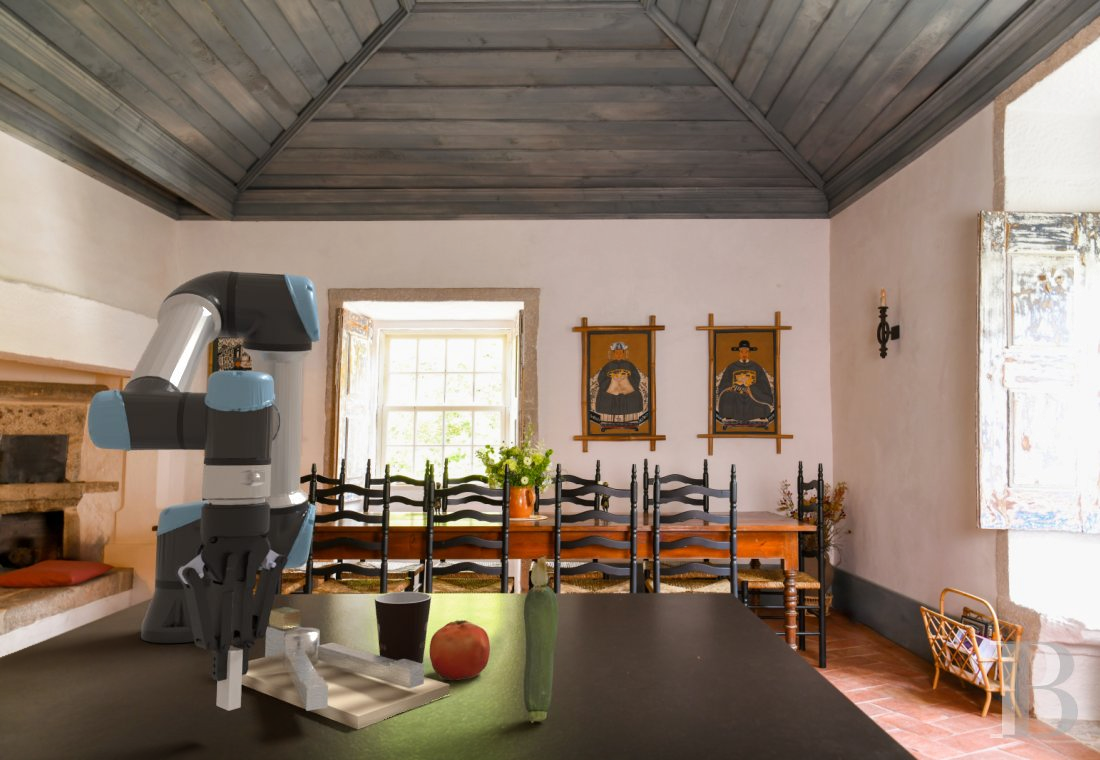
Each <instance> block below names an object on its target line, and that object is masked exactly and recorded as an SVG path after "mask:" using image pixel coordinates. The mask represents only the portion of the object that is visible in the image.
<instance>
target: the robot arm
mask: <svg viewBox="0 0 1100 760" xmlns="http://www.w3.org/2000/svg"><path fill="white" fill-rule="evenodd" d="M320 329H321V328H320V317H319V309H318V301H317V293H316V287H315V283H314V282H313V281H312V280H311V279H310V278H308V277H306V276H300V275H294V274H288V273H284V274H281V273H280V274H279V273H278V274H277V273H265V272H264V273H263V272H262V273H261V272H259V273H258V272H246V271H245V272H243V271H242V272H241V271H232V270H227V271H226V270H221V271H220V270H219V271H212V272H208V273H204V274H202V275H201V274H200V275H199V276H196V277H193V278H191V279H190V280H188V281H185V282H183V283H182V284H181V285H179V286H178V287H175V288H174V289H173V290H172V292H170V293H169V294H168V295H167V296H166V297H165V299H164V300H163V301H162V303H161V304H160V307H159V308H158V312H157V327H156V329H155V331H154V333H153V335H152V336H151V339H150V341H148V344H147V346H146V347H145V350H144V352H143V353H142V355H141V357H140V359H139V361H138V362H137V364H136V366H135V368H134V370H133V372H132V374H131V376H130V378H129V379H128V381H127V383H126V385H125V386H124V388H123V390H120V389H117V388H115V389H112V390H102V391H101V390H100V391H99V392H96V393H95V394H94V396H93V397H92V399H91V402H90V403H89V408H88V413H87V414H88V415H87V429H88V430H87V431H88V435H89V438H90V440H91V443H92V444H93V445H94V446H95V447H96V448H98V449H103V450H122V451H126V452H131V451H158V450H159V451H160V450H161V451H163V450H165V451H169V450H170V451H171V450H173V451H174V450H175V451H176V450H180V451H183V450H184V451H186V450H187V451H191V450H192V451H193V450H194V451H195V450H196V451H197V450H198V451H204V457H203V469H202V483H201V485H202V486H201V487H202V488H201V490H202V491H201V498H202V499H203V500H199V501H192V502H186V503H185V502H184V503H180V504H179V503H178V504H175V505H170V506H168V507H167V506H166V507H165V508H164V509H162V511H160V513H159V514H158V515H159V516H158V524H157V531H156V533H155V536H156V551H155V552H156V554H155V575H154V578H155V579H154V590H153V591H154V592H153V594H152V597H151V600H150V602H149V605H148V607H147V610H146V612H145V615H144V618H143V620H142V623H141V628H140V631H141V633H140V639H142V640H143V641H146V642H150V643H156V644H181V643H183V644H184V643H193V642H194V645H195V646H196V647H198V648H202V649H203V650H204V649H205V650H207V651H211V663H210V664H211V666H210V676H211V678H212V680H214V681H216V682H217V684H216V705H215V706H217V707H219V708H221V709H224V710H226V711H233V710H236V709H239V708H241V707H242V706H241V704H242V700H241V699H242V675H245V674H247V671H248V662H249V661H250V660H249V657H250V650H251V649H253V648H254V646H255V644H256V641H257V640H261V639H264V637H266V630H267V626H269V618H270V613H271V610H272V609H273V604H274V602H275V601H274V600H275V597H276V596H275V595H276V592H277V587H278V584H279V579H280V575H281V574H282V572H283V570H287V569H298V568H302V567H303V566H304V565H306V563H307V561H308V560H309V554H310V549H311V543H312V536H313V531H314V524H315V519H316V511H317V505H316V504H315V505H314V504H312V503H309V494H308V493H307V492H306V491H304V490H303V489H302V487H301V465H302V464H301V461H302V460H301V457H302V456H301V455H302V453H301V452H302V409H303V408H302V406H303V405H302V404H303V403H302V402H303V362H304V360H305V358H306V357H307V356H308V355H309V354H311V352H312V349H313V344H312V343H316V342H317V343H318V342H319V341H320V340H321V330H320ZM217 338H231V339H242V350H243V351H244V352H245V353H246V354H247V355H248V356H249V357H250V359H251V370H219V371H214V372H212V373H211V374H210V375H209V377H208V379H207V386H206V392H194V391H193V392H191V391H190V389H191V387H192V384H193V382H194V379H195V377H196V374H197V372H198V369H199V367H200V364H201V362H202V359H203V356H204V355H205V352H206V349H207V347H208V345H209V344H211V343H213V342H214V341H215V340H216V339H217ZM259 571H260V573H259V577H258V578H257V572H259ZM257 579H258V580H257ZM255 587H256V588H255ZM254 589H255V592H254ZM231 644H232V645H231Z"/></svg>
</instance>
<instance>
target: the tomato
mask: <svg viewBox="0 0 1100 760" xmlns="http://www.w3.org/2000/svg"><path fill="white" fill-rule="evenodd" d="M490 652H491V644H490V638H489V634H488V633H487V631H486V630H485V628H482V627H480V626H479V625H477V624H474V623H472V622H470V621H468V620H463V619H462V620H458V619H457V620H454V621H450V622H448V623H446V624H445V625H443V626H442V627H441V628H439V629H437V630H436V631H435V632H434V633H433V635H432V637H431V639H430V643H429V659H430V663H431V667H432V669H433V670H434V671H435V673H436V674H437V675H438V676H439V677H440V678H441V679H443V680H451V681H457V680H467V679H471V678H474V677H477V676H478V675H479V674H480V673H482V672H483V670H485V668H486V666H487V665H488V662H489V659H490V654H491V653H490Z"/></svg>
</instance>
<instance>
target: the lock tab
mask: <svg viewBox="0 0 1100 760" xmlns="http://www.w3.org/2000/svg"><path fill="white" fill-rule="evenodd" d="M301 621H302V610H300V609H298V608H297V609H296V608H292V607H288V606H283V607H279V608H272V609H271V613H270V618H269V622H268V626H271V625H272V626H275V627H279V628H282V629H286V628H291V627H296V626H299V627H301V624H302V622H301Z"/></svg>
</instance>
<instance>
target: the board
mask: <svg viewBox="0 0 1100 760" xmlns="http://www.w3.org/2000/svg"><path fill="white" fill-rule="evenodd" d="M248 661H249V662H248V671H247V674H245V675H242V685H243V686H245V687H247V688H250V689H252V690H254V691H258V692H260V693H263V694H266V695H268V696H271V697H273V698H276V699H278V700H281V701H283V702H286V703H288V704H291V705H293V706H296V707H299V708H302V709H305V707H304V705H303V703H302V701H301V699H300V697H299V694H298V692H297V690H296V688H295V686H294V684H293V682H292V680H291V678H290V676H289V674H288V672H287V670H286V668H285V667H284V666H283V663H282V662H279V661H276V660H273V659H270V658H267V657H265V656H263V657H261V658H255V659H251V660H248ZM313 667H314V668H315V670H316V672H317V673H318V675H319V677H323V679H324V680H325V682H326V684H327V685H328V705H327V708H322V709H316V710H309V712H311V713H314V714H317V715H320V716H322V717H325V718H326V719H329V720H333V721H335V722H338V723H340V724H343V725H345V726H348V727H350V728H353V729H356V730H360V729H362V728H365V727H368V726H372V725H374V724H377V723H379V722H383V721H385V720H388V719H390V718H389V717H391V718H393V717H394V716H393V715H396V714H398V713H401V712H403V711H406V710H409V709H412V708H415V707H417V706H420V705H422V704H425V703H428V702H431V701H432V700H435V699H438V698H440V697H443V696H445V695H448V694H450V687H451V685H450V684H449V683H445V682H443V681H439V680H436V679H432V678H430V677H429V678H428V677H427V676H424V684H422V685H419V686H416V687H413V688H410V689H409V688H406V687H403V686H400V685H396V684H393V683H390V682H387V681H384V680H380V679H377V678H374V677H371V676H367V675H364V674H361V673H358V672H355V671H351V670H348V669H345V668H342V667H339V666H335V665H332V664H329V663H326V662H323V661H319V663H318V664H316V665H314V666H313ZM242 685H241V686H242ZM415 709H416V708H415ZM305 710H306V709H305ZM392 716H393V717H392ZM396 716H397V715H396ZM387 718H388V719H387ZM384 719H385V720H384Z"/></svg>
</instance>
